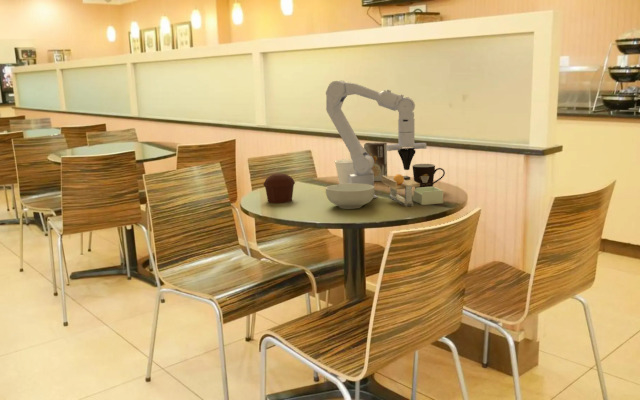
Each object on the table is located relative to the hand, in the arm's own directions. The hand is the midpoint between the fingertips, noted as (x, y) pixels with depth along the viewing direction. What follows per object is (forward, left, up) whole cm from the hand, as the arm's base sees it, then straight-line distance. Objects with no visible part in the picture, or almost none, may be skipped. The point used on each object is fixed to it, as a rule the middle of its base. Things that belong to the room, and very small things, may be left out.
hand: (406, 169), depth 212 cm
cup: (-15, +29, -11) cm, 34 cm away
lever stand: (-4, -5, -10) cm, 12 cm away
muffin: (-45, +12, -11) cm, 48 cm away
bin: (+5, -9, -10) cm, 15 cm away
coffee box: (+1, +41, -11) cm, 42 cm away
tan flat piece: (-4, -5, -4) cm, 8 cm away
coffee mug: (+12, +9, -11) cm, 18 cm away
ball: (-6, -9, -2) cm, 11 cm away
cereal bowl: (-23, -7, -11) cm, 26 cm away
